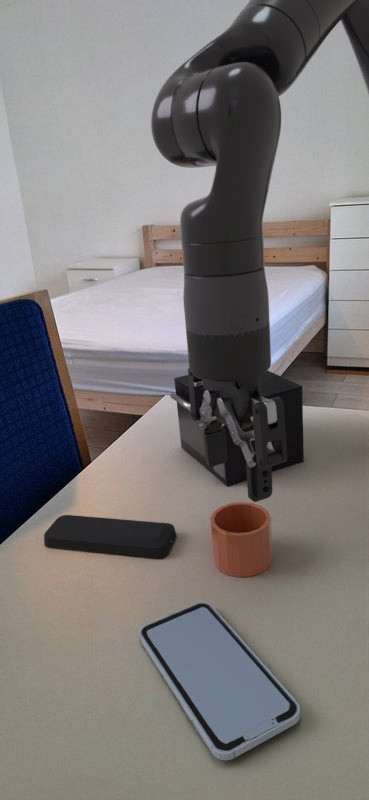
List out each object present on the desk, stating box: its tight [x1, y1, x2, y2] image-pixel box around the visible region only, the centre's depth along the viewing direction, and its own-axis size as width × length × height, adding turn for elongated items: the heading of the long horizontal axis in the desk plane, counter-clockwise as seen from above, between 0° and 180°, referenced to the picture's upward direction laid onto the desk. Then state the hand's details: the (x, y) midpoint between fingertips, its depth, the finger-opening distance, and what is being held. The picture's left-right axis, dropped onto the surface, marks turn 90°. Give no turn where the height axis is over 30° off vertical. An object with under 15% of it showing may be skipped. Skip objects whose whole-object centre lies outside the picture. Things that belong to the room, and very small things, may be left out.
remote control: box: [43, 514, 178, 559], centre depth 68 cm, size 5×2×15 cm
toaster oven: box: [169, 369, 305, 487], centre depth 83 cm, size 14×14×11 cm
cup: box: [209, 501, 273, 578], centre depth 62 cm, size 6×6×5 cm
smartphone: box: [138, 601, 301, 761], centre depth 49 cm, size 7×1×15 cm
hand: (237, 479), depth 59 cm, fingers open, 8 cm apart
